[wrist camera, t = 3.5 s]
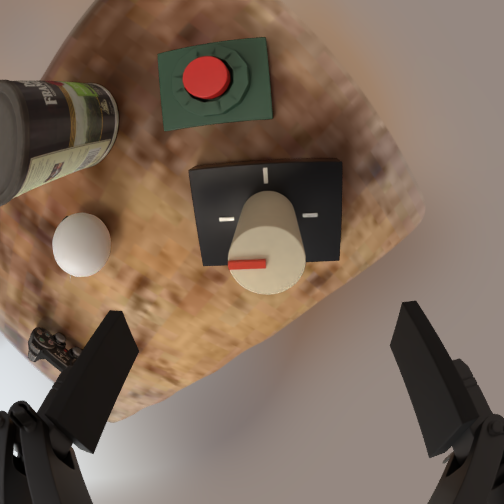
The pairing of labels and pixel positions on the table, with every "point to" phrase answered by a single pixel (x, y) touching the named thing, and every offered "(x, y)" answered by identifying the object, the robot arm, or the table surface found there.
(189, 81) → the red button
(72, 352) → the game controller
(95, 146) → the coffee can
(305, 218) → the panel
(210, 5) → the table surface
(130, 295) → the table surface
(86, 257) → the white sphere
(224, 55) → the button box
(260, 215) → the dial
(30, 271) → the table surface
